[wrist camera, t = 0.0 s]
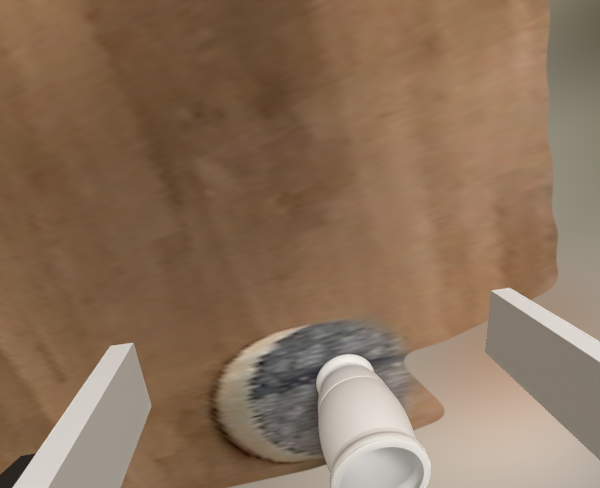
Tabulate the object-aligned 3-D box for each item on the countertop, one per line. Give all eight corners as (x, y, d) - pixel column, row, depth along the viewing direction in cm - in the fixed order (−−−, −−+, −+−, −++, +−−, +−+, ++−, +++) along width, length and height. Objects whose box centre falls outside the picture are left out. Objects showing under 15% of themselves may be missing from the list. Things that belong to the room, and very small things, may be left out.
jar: (370, 411, 50) (415, 519, 36) (302, 407, 48) (321, 520, 34) (388, 349, 47) (445, 441, 33) (316, 342, 45) (344, 437, 31)
